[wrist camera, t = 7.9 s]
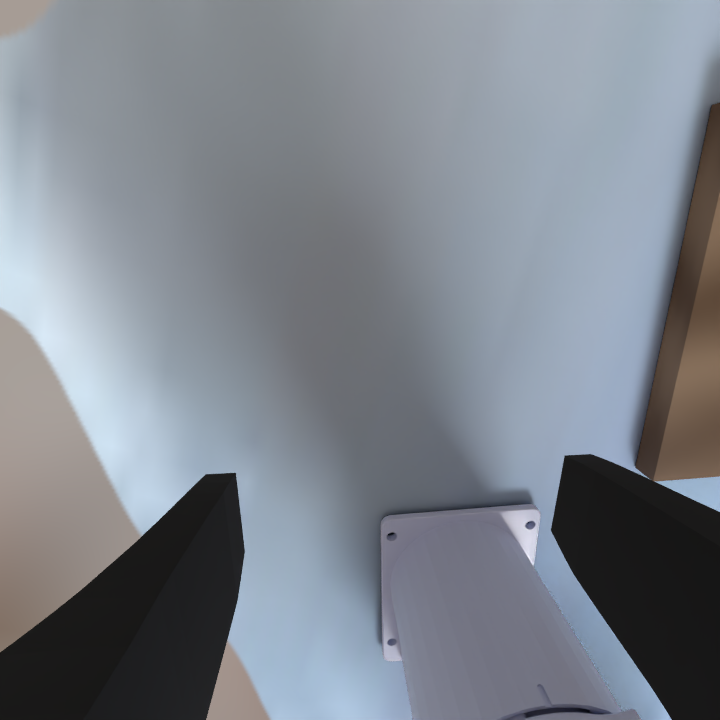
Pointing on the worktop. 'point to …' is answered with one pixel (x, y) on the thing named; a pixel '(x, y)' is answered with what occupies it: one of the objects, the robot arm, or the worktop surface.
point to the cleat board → (690, 342)
